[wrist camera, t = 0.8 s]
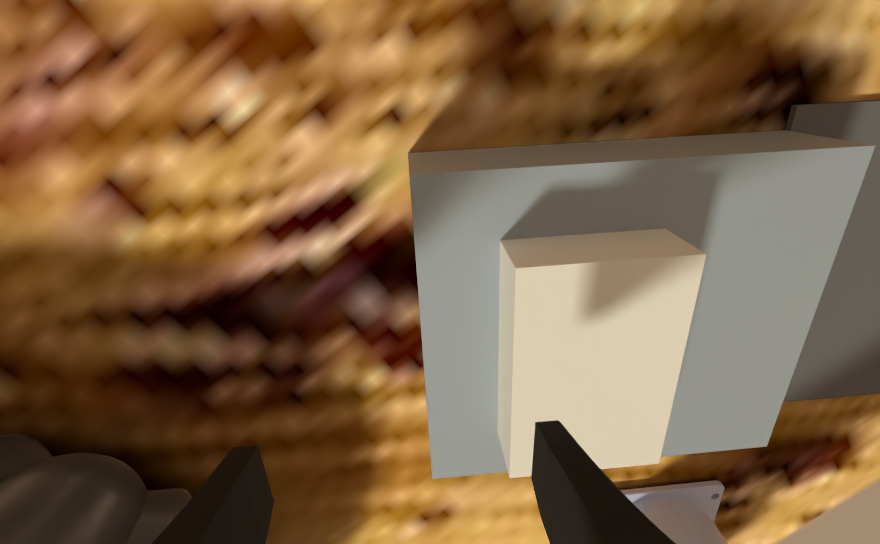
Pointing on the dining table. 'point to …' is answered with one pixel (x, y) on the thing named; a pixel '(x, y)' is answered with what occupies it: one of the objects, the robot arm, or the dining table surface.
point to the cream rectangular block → (593, 341)
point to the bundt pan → (77, 498)
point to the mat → (845, 270)
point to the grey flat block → (629, 209)
